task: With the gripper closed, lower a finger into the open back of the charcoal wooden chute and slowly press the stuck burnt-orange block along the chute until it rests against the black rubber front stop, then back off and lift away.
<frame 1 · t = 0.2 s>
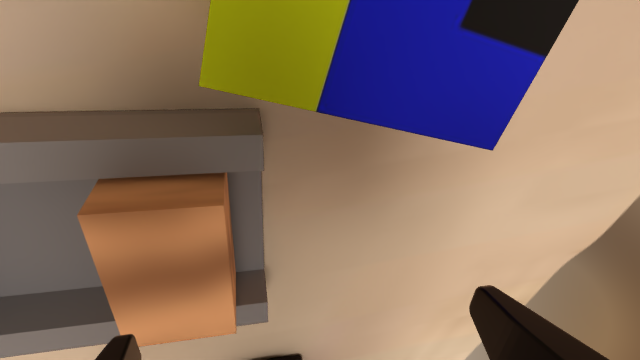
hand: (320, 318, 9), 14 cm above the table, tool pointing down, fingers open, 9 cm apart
orange block: (176, 250, 20), point 3 cm above the table, slide at -5.0 cm
chute: (97, 220, 22), on the table
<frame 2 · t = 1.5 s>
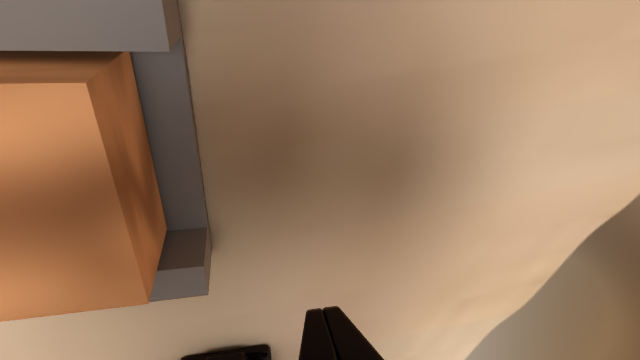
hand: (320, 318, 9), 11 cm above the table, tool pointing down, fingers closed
orange block: (56, 182, 14), point 3 cm above the table, slide at -5.0 cm
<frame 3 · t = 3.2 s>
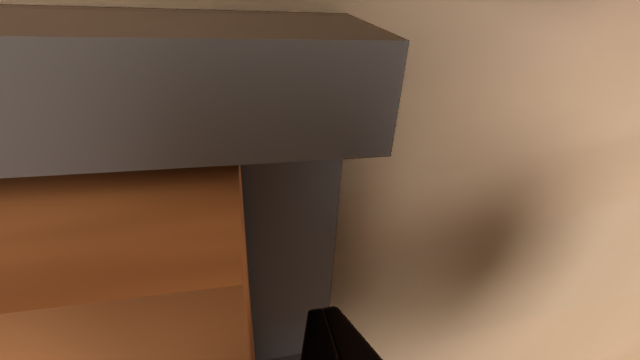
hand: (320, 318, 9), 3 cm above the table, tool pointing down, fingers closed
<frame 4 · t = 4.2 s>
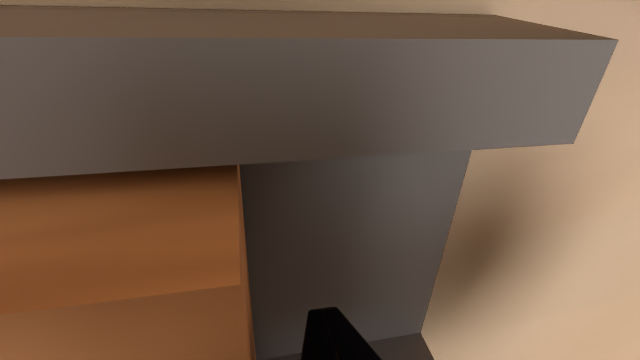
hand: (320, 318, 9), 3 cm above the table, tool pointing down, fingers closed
chute: (137, 261, 11), on the table
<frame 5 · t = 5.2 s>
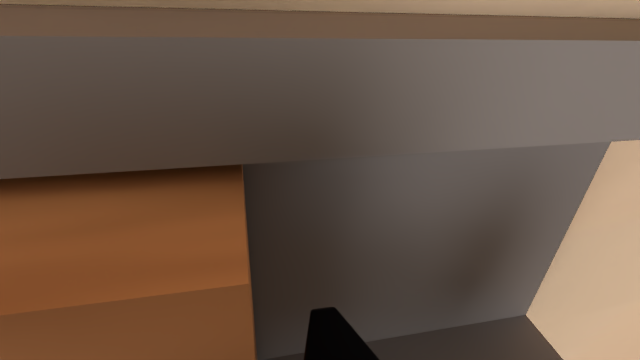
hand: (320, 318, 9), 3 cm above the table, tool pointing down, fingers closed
chute: (302, 243, 12), on the table
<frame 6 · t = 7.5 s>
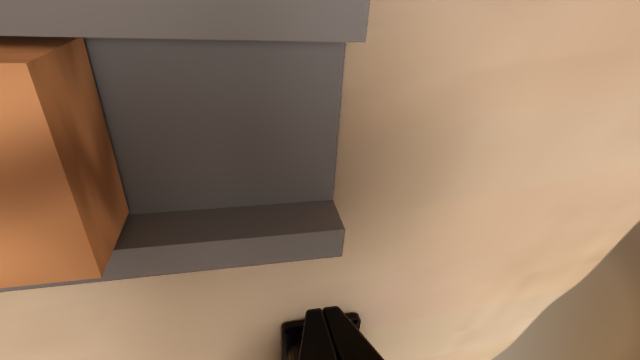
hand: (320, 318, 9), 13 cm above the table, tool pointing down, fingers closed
orange block: (12, 162, 15), point 3 cm above the table, slide at 4.7 cm
chute: (150, 127, 19), on the table
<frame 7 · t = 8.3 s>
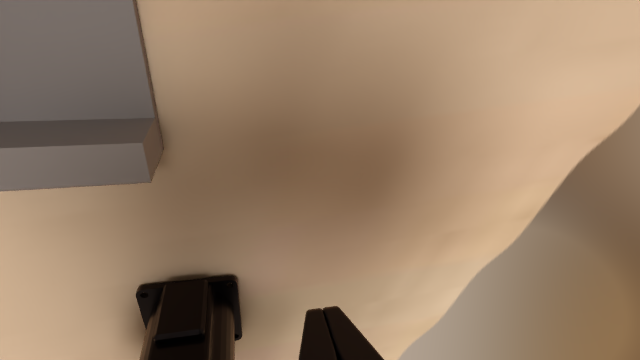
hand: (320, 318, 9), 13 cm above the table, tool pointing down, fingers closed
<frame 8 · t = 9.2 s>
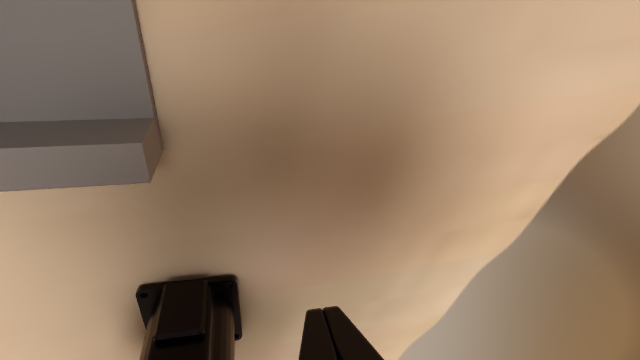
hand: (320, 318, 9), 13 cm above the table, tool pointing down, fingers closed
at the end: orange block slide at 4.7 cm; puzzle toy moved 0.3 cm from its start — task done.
